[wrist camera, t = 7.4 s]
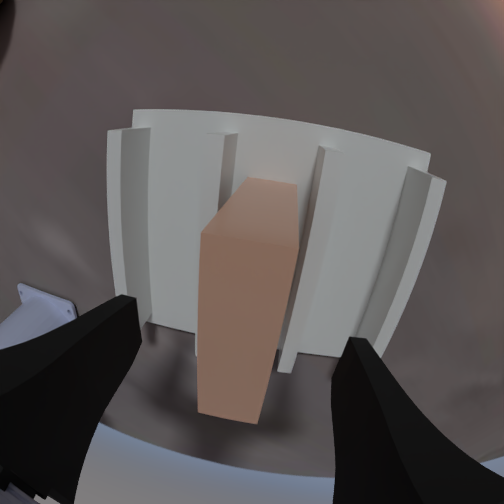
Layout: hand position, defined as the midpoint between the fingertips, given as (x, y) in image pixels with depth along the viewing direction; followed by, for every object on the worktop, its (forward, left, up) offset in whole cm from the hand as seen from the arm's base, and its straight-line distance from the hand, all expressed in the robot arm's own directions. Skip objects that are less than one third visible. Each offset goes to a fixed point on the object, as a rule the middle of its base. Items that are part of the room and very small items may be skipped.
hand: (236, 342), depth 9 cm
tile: (0, 0, -8) cm, 8 cm away
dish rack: (0, 0, -9) cm, 9 cm away
